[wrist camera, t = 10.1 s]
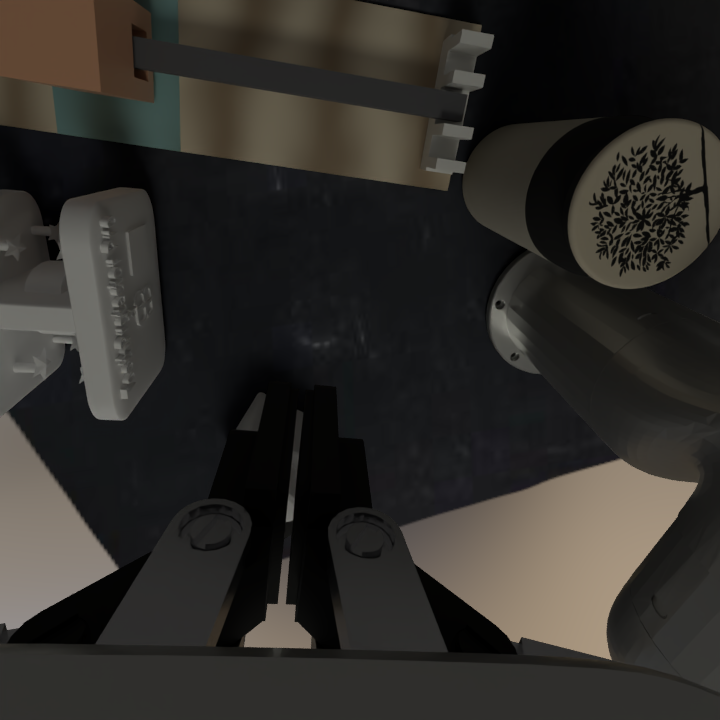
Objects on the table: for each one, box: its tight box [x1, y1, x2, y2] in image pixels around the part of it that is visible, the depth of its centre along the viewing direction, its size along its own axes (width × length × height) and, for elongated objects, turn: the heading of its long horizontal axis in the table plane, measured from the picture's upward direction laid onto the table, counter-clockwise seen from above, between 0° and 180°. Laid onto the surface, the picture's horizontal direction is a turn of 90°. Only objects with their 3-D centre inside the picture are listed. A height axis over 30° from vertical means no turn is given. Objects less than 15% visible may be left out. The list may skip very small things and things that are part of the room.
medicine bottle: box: [236, 392, 303, 539], centre depth 41 cm, size 7×7×12 cm
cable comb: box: [420, 29, 494, 174], centre depth 32 cm, size 2×8×6 cm, turn 172°
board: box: [0, 0, 482, 191], centre depth 33 cm, size 33×11×1 cm, turn 82°
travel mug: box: [462, 115, 720, 289], centre depth 29 cm, size 8×8×18 cm
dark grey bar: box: [132, 36, 468, 122], centre depth 30 cm, size 30×2×2 cm, turn 82°
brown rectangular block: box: [0, 0, 154, 103], centre depth 27 cm, size 5×5×9 cm
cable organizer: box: [0, 187, 165, 420], centre depth 33 cm, size 15×11×12 cm
